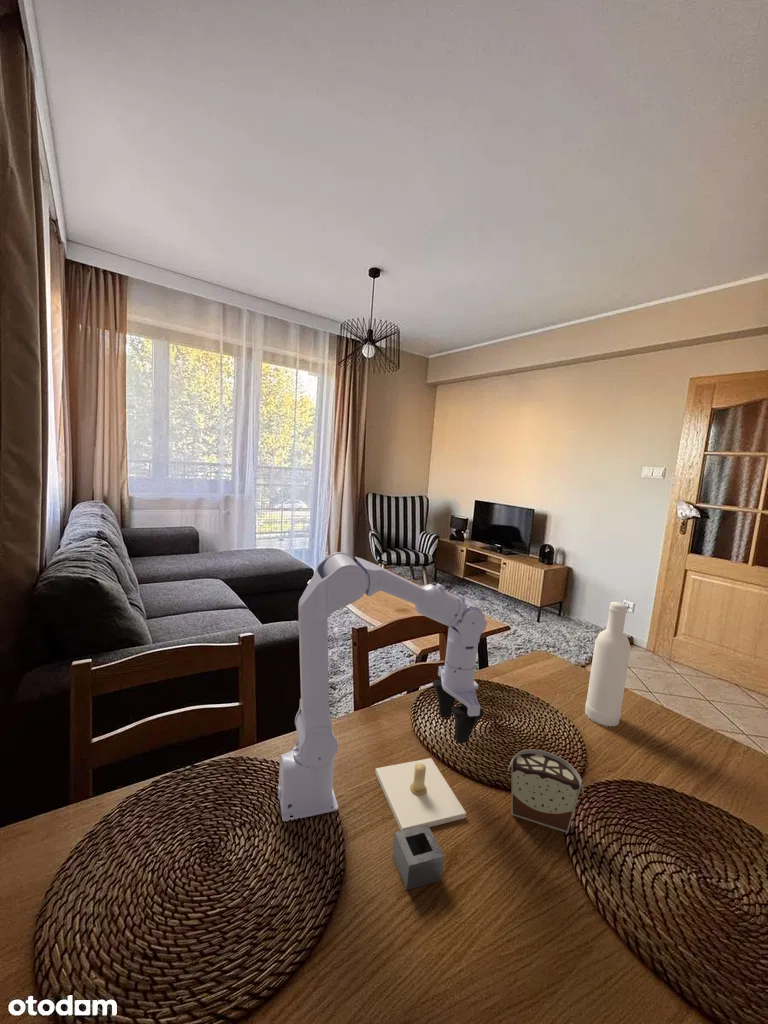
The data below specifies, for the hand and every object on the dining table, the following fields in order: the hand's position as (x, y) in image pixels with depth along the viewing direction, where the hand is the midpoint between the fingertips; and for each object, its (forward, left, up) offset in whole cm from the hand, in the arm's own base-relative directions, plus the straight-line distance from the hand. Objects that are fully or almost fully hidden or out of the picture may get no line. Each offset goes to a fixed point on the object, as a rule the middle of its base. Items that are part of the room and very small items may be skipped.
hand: (453, 728), depth 83 cm
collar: (-14, -16, -10) cm, 23 cm away
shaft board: (-8, -3, -10) cm, 13 cm away
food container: (+12, -12, -10) cm, 20 cm away
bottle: (+48, +8, -10) cm, 50 cm away
